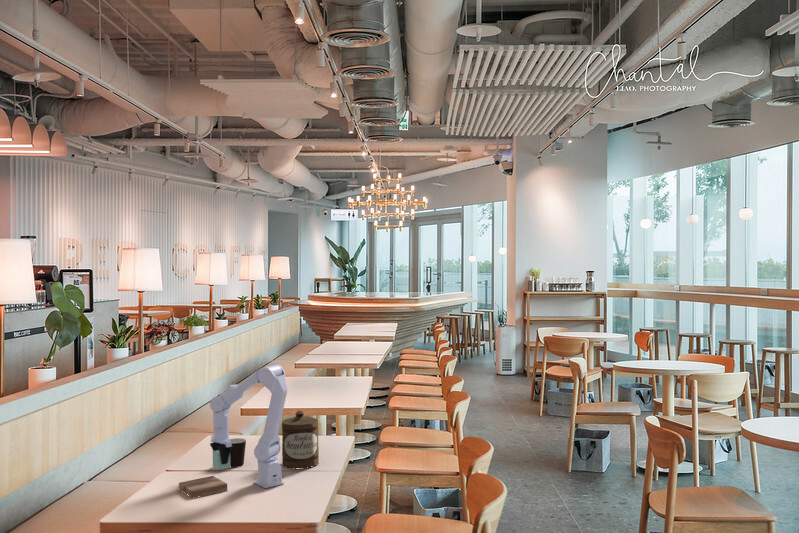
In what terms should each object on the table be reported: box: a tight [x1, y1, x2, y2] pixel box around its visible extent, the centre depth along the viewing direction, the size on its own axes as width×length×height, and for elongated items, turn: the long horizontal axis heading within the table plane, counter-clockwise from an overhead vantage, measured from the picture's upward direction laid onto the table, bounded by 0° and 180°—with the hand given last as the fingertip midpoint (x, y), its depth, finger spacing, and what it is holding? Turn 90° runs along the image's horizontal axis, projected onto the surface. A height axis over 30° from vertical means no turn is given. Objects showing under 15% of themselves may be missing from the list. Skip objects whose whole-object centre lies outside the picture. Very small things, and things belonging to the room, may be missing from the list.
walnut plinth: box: [178, 475, 228, 499], centre depth 247 cm, size 13×13×2 cm
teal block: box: [212, 450, 231, 470], centre depth 261 cm, size 5×5×6 cm
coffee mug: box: [230, 437, 247, 468], centre depth 281 cm, size 12×9×10 cm
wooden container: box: [281, 410, 320, 470], centre depth 279 cm, size 15×15×22 cm
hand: (221, 462), depth 261 cm, fingers closed on teal block, 5 cm apart
